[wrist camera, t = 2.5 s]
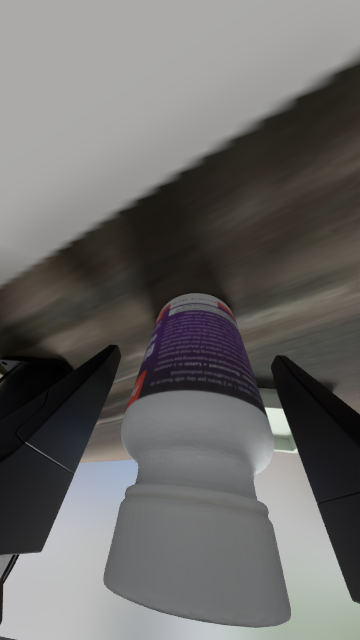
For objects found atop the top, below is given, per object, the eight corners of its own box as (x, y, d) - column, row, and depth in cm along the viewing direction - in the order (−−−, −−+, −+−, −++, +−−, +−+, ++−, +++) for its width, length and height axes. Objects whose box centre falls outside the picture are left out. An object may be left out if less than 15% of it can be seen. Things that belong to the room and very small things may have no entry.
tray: (210, 428, 21) (211, 444, 20) (222, 384, 15) (225, 404, 14) (288, 435, 20) (296, 453, 19) (332, 393, 15) (347, 414, 13)
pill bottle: (149, 294, 10) (-8, 593, 2) (236, 286, 9) (442, 699, 2) (165, 353, 13) (122, 566, 5) (232, 350, 12) (294, 597, 5)
